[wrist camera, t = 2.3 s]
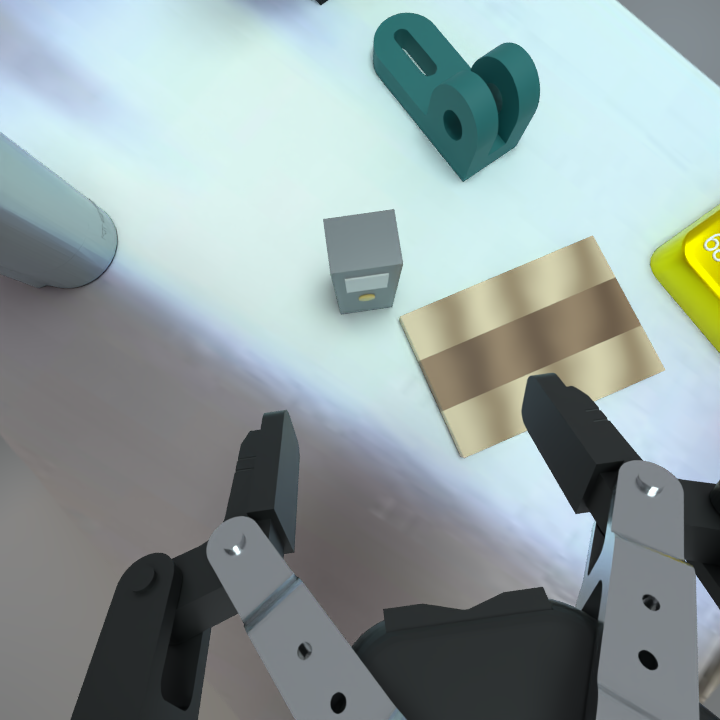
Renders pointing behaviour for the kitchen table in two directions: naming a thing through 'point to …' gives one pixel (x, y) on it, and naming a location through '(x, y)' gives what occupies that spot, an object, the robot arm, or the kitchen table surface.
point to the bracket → (457, 91)
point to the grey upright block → (364, 259)
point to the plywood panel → (527, 342)
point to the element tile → (694, 272)
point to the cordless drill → (321, 1)
